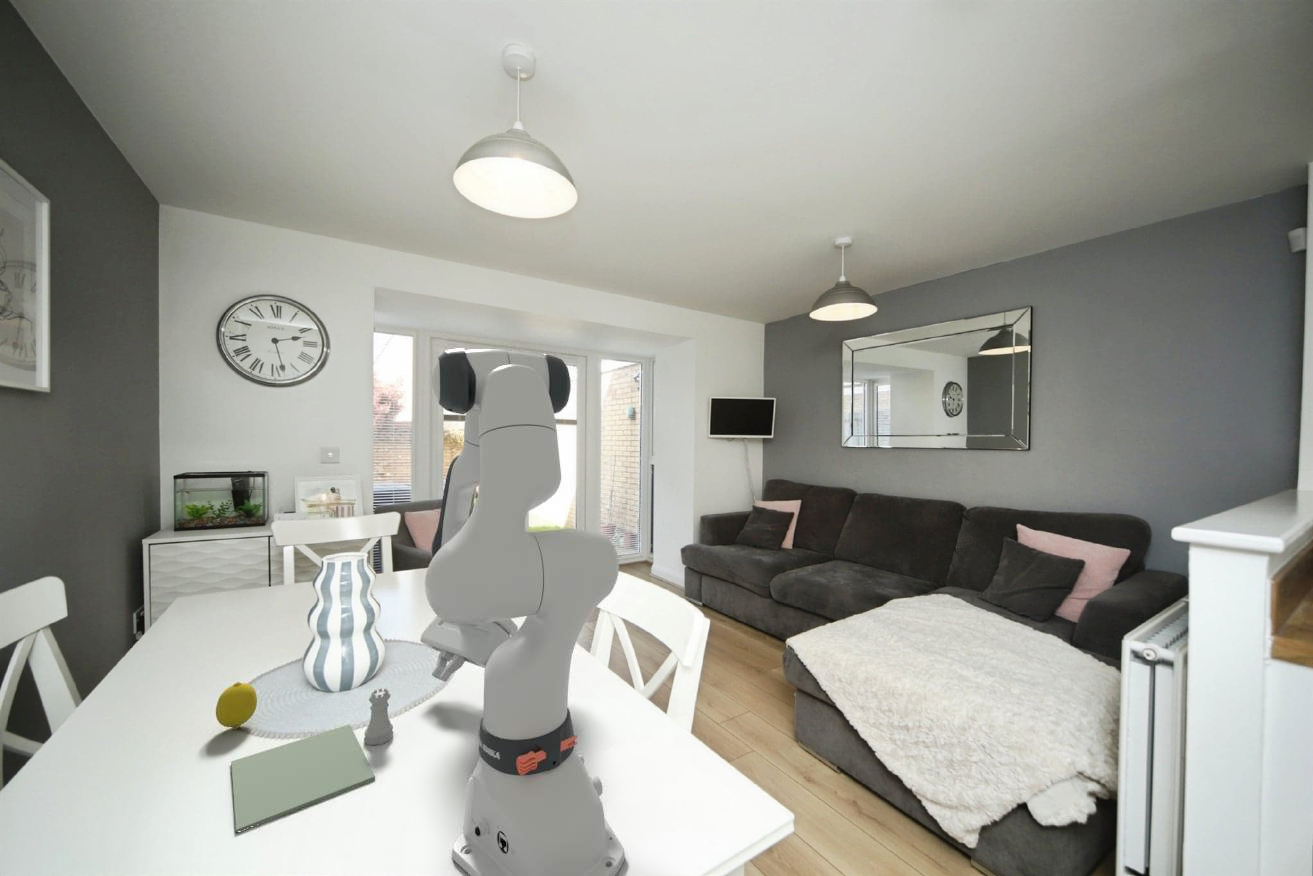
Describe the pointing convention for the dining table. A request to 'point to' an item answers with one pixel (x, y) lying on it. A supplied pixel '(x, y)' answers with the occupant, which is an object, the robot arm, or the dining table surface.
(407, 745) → the dining table surface
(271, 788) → the grayish green thin book
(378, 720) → the rook chess piece
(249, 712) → the lemon
